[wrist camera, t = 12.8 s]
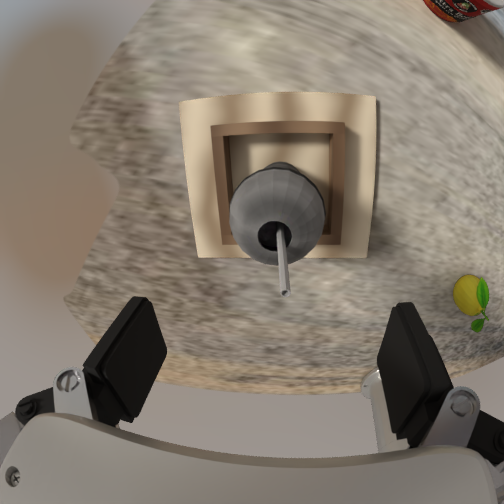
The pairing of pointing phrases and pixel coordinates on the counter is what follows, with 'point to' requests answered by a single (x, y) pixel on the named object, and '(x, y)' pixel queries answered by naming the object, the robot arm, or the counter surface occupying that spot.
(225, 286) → the counter surface
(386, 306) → the counter surface
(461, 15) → the canned food
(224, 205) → the cup holder
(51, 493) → the robot arm
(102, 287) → the counter surface
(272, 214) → the beverage cup
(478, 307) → the lemon
